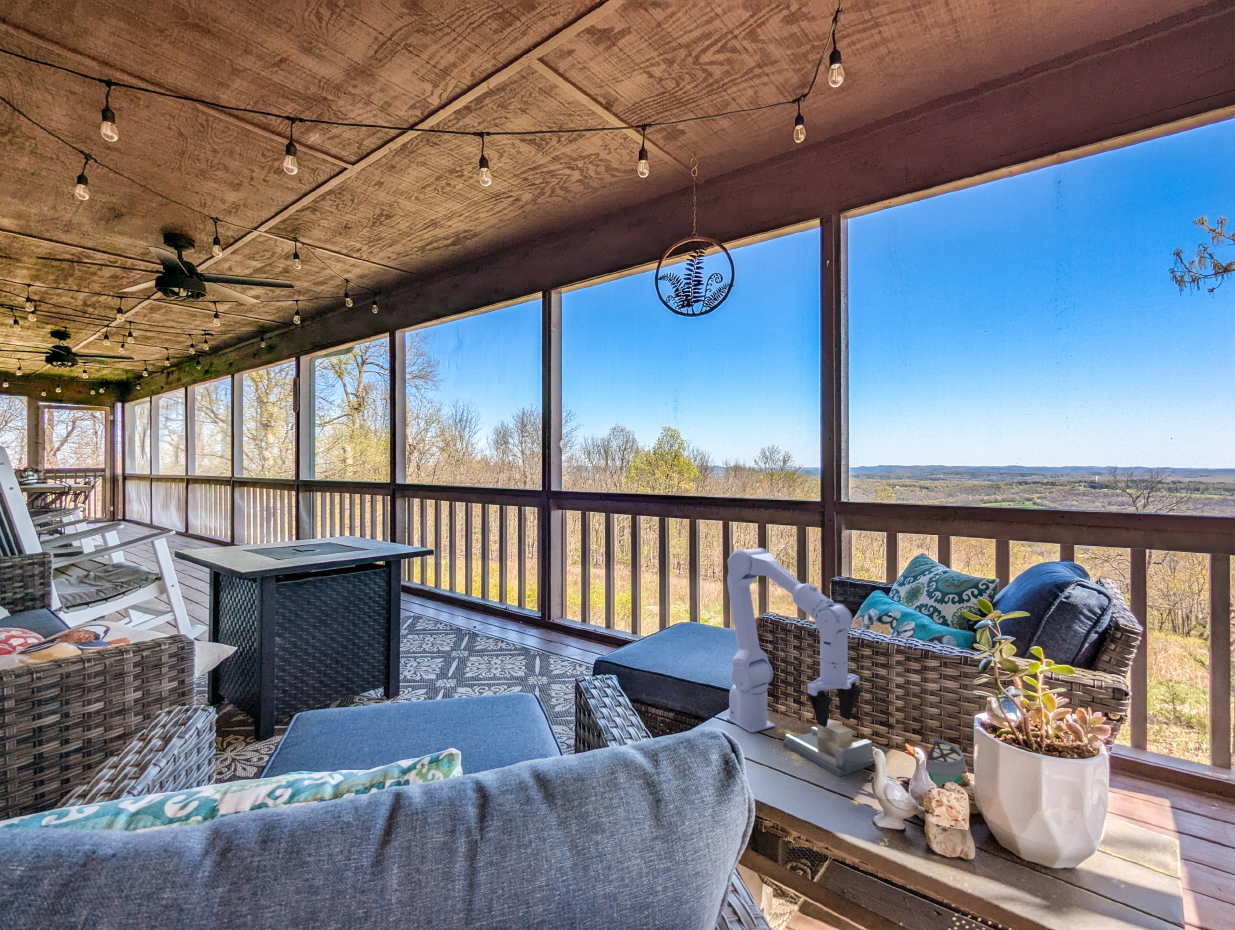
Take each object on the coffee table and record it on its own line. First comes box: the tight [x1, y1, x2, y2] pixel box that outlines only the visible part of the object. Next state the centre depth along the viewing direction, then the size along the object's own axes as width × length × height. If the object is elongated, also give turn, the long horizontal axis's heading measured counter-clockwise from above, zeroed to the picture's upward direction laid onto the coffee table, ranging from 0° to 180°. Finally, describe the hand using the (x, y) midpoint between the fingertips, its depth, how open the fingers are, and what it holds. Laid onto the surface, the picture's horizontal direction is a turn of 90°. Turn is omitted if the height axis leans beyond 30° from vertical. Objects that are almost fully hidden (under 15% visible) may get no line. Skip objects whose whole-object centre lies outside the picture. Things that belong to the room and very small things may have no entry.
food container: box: [925, 737, 967, 787], centre depth 108 cm, size 12×6×10 cm, turn 143°
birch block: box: [816, 719, 853, 759], centre depth 127 cm, size 6×4×6 cm, turn 29°
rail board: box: [782, 726, 875, 777], centre depth 128 cm, size 16×11×5 cm
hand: (833, 721), depth 127 cm, fingers open, 7 cm apart
